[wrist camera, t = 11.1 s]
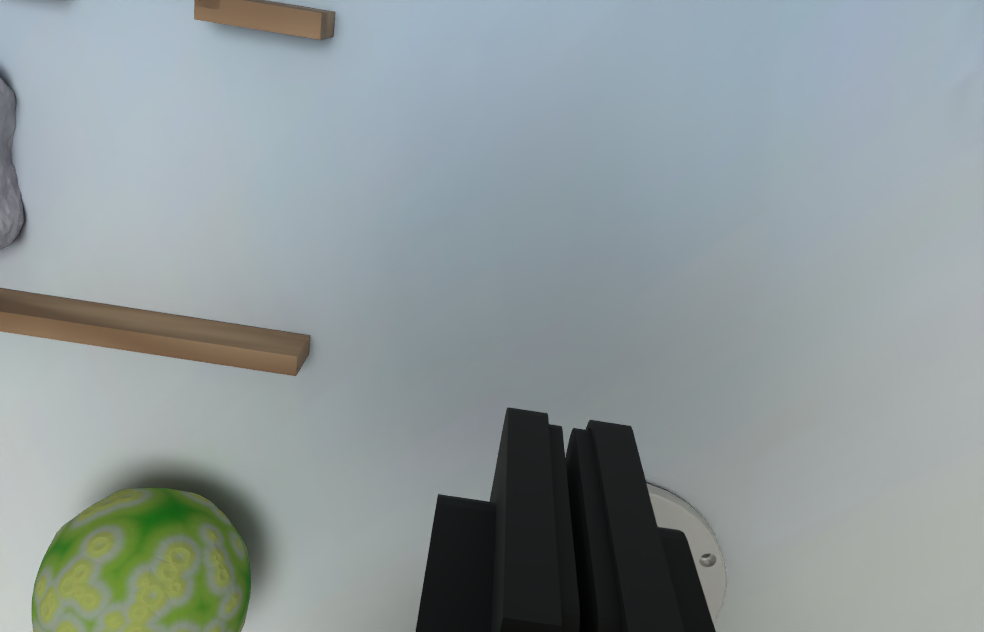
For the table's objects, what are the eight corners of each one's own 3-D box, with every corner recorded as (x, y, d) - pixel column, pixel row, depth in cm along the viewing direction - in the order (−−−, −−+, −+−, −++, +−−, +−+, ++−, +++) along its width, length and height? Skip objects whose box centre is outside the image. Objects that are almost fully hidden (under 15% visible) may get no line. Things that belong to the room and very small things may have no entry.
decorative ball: (254, 441, 42) (179, 568, 33) (290, 595, 46) (232, 749, 37) (71, 454, 43) (-54, 582, 34) (121, 605, 46) (21, 758, 37)
